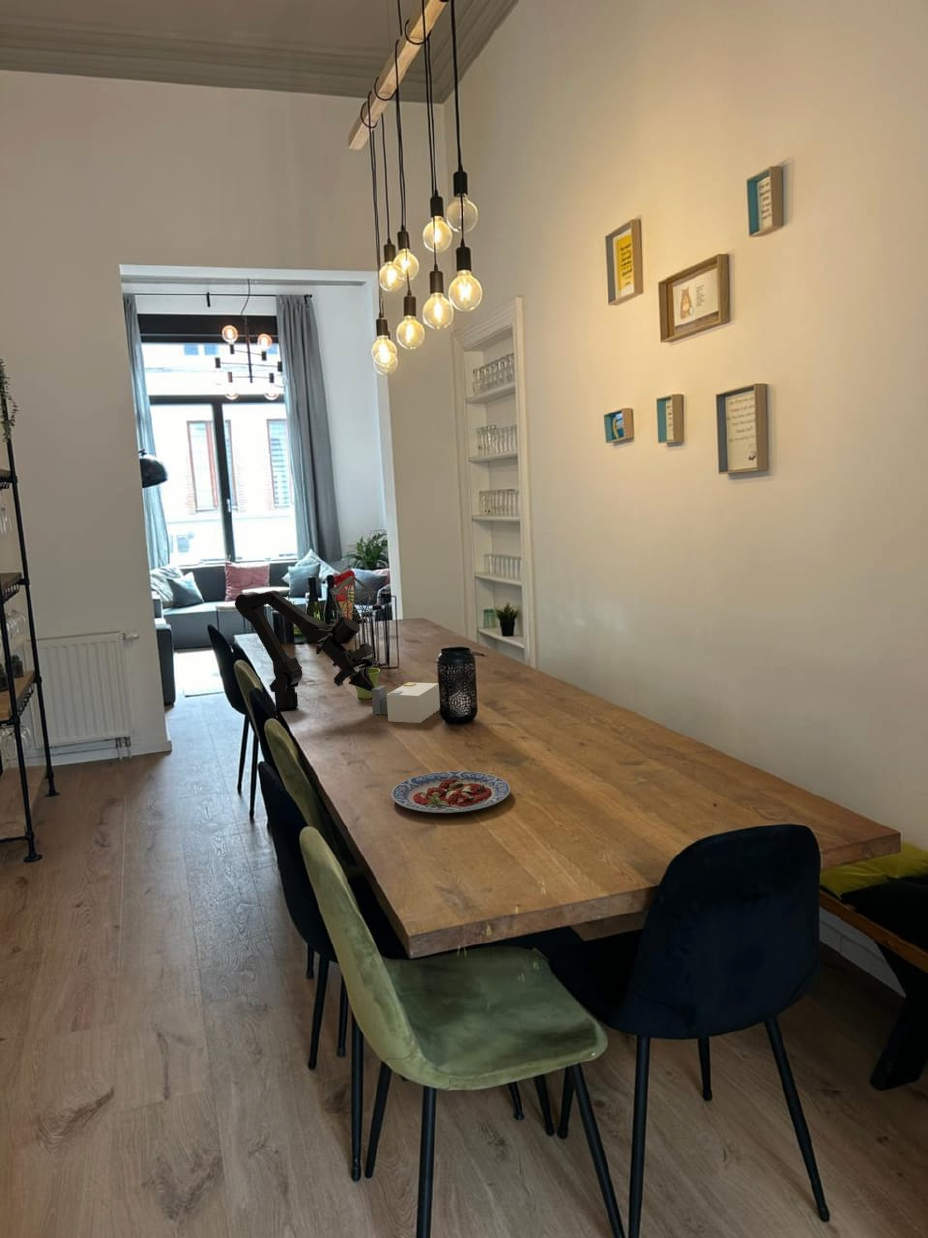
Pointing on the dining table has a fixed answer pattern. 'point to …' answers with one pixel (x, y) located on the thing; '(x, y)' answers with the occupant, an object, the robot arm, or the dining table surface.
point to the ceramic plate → (450, 791)
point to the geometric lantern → (344, 583)
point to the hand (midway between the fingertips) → (374, 691)
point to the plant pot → (374, 678)
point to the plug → (379, 700)
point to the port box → (413, 702)
